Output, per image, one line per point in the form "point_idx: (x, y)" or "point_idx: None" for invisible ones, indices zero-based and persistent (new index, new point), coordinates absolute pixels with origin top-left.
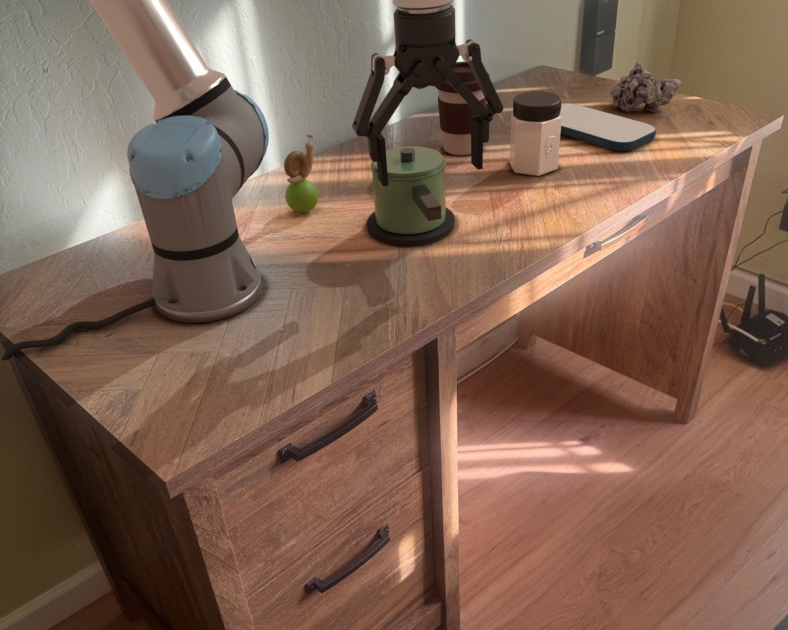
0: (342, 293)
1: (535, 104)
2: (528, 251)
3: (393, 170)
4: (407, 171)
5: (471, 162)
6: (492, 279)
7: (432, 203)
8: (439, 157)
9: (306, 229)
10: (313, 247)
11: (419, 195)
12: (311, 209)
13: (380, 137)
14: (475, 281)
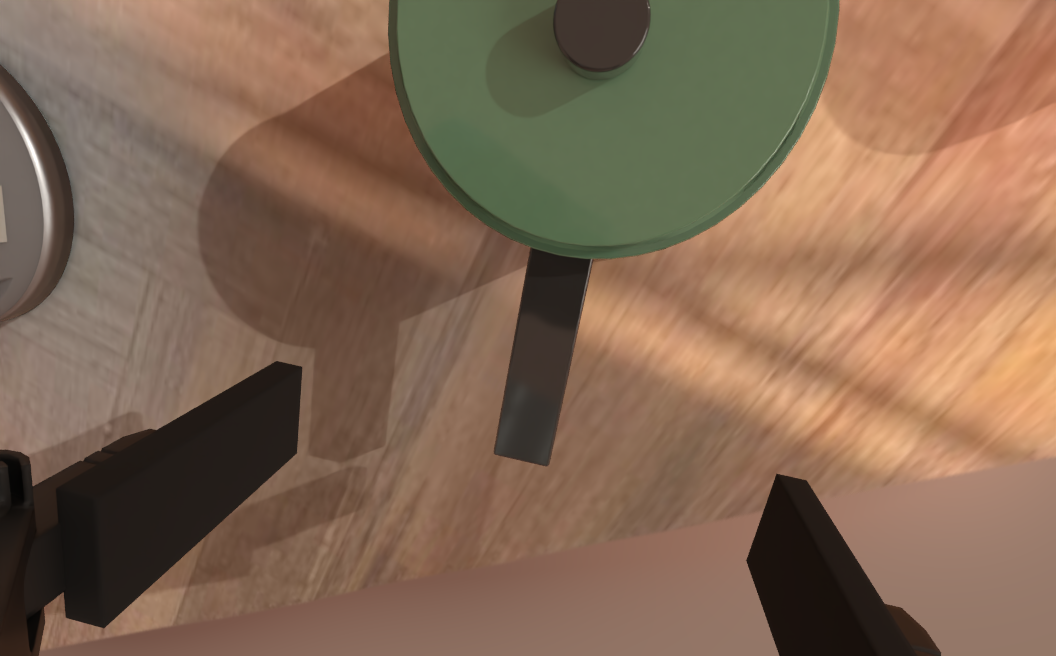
0: (265, 366)
1: None
2: (820, 456)
3: (461, 142)
4: (520, 200)
5: (775, 482)
6: (635, 517)
7: (528, 431)
8: (775, 116)
9: None
10: (249, 61)
11: (517, 336)
12: None
13: (80, 592)
14: (591, 501)
